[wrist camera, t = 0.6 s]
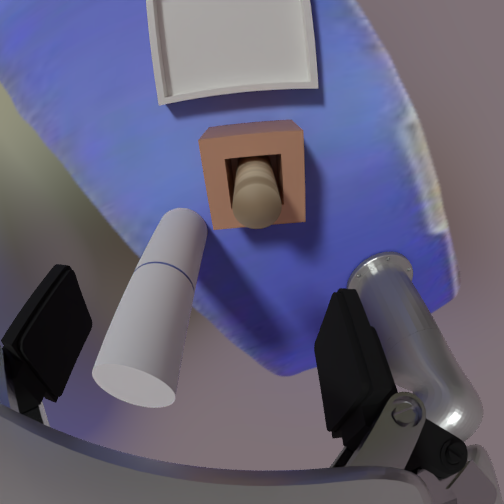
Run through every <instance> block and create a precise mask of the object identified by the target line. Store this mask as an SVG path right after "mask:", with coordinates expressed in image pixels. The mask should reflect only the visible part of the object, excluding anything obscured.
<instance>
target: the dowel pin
mask: <svg viewBox="0 0 504 504" xmlns="http://www.w3.org/2000/svg"><path fill="white" fill-rule="evenodd" d="M232 209H233V214H234V216H235V218H236V219H237V221H238V222H239V223H241V224H242V225H244V226H245V227H248V228H252V229H262V228H266V227H268V226H270V225H272V224H273V223H274V222H275V221H276V220H277V219H278V217H279V216H280V213H281V209H282V204H281V199H280V196H279V192H278V188H277V184H276V180H275V176H274V173H273V169H272V165H271V161H270V158H269V156H268V155H259V156H248V157H239V158H238V163H237V171H236V179H235V187H234V196H233V205H232Z"/></svg>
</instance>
